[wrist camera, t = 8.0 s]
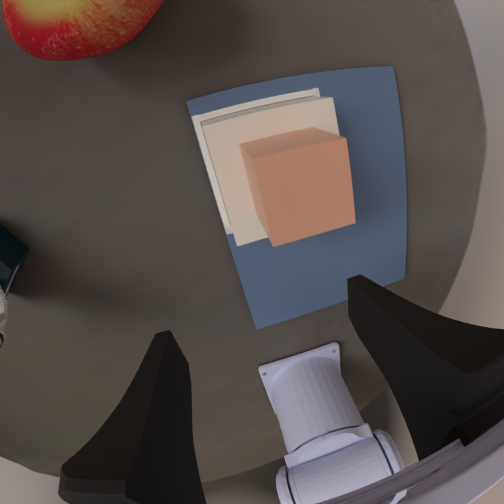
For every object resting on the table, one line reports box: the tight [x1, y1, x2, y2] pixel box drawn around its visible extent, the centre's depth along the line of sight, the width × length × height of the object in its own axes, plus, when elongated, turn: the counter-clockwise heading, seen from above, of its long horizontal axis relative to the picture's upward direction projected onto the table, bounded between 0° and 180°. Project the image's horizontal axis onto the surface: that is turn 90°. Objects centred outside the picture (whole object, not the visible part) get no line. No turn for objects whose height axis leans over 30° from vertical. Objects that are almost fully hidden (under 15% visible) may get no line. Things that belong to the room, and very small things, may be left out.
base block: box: [201, 96, 339, 246], centre depth 18 cm, size 7×7×3 cm
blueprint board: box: [186, 66, 407, 330], centre depth 21 cm, size 18×14×1 cm
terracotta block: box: [239, 127, 356, 247], centre depth 14 cm, size 4×4×4 cm
